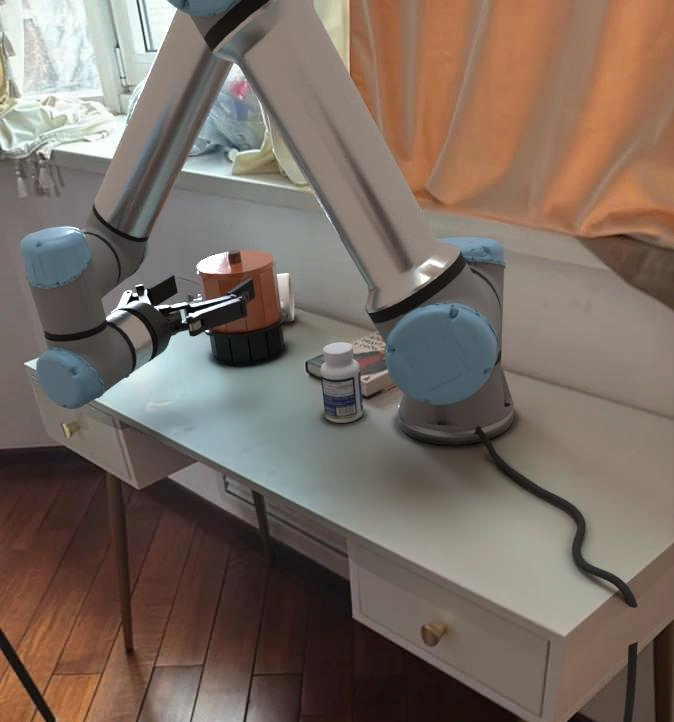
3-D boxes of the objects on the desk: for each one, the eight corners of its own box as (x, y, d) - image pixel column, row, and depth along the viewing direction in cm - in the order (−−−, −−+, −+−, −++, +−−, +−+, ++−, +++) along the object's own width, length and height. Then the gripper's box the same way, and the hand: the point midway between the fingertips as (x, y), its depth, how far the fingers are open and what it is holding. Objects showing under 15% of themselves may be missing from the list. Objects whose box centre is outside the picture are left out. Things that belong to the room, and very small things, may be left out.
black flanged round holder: (304, 355, 138) (300, 321, 134) (222, 376, 134) (216, 342, 130) (273, 330, 148) (268, 298, 145) (196, 348, 144) (190, 316, 141)
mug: (241, 316, 155) (234, 271, 150) (295, 312, 154) (290, 267, 149) (233, 340, 146) (225, 294, 141) (290, 336, 145) (285, 289, 140)
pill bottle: (339, 404, 122) (333, 337, 116) (370, 411, 119) (366, 343, 113) (317, 419, 118) (310, 351, 112) (349, 426, 116) (343, 357, 110)
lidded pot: (292, 321, 135) (283, 252, 128) (220, 338, 131) (208, 268, 125) (265, 301, 144) (256, 236, 137) (197, 316, 140) (185, 250, 134)
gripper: (64, 357, 119) (148, 306, 134) (217, 372, 110) (289, 315, 125) (48, 304, 114) (137, 257, 129) (206, 315, 105) (282, 263, 120)
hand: (212, 285), depth 127 cm, fingers open, 13 cm apart
